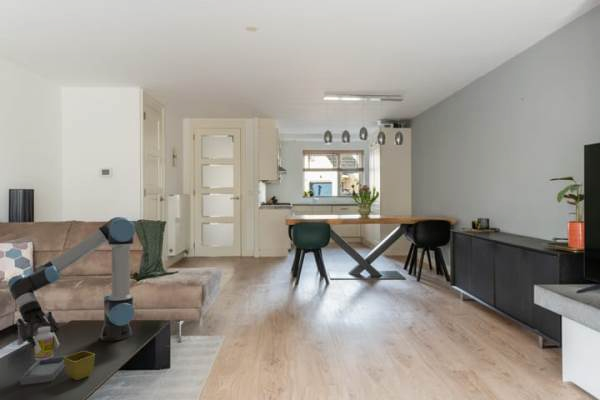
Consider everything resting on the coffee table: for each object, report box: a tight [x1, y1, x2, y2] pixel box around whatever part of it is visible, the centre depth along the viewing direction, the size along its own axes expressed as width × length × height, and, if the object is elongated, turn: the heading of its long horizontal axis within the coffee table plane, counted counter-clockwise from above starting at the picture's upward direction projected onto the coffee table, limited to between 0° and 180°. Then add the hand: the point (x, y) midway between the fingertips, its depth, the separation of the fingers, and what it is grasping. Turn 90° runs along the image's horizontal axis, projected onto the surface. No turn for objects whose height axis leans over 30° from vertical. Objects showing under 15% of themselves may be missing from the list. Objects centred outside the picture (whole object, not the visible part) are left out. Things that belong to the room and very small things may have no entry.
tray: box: [19, 355, 68, 386], centre depth 169 cm, size 12×20×3 cm, turn 15°
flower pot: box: [64, 350, 96, 381], centre depth 164 cm, size 9×9×9 cm
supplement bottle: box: [34, 326, 54, 361], centre depth 168 cm, size 7×7×13 cm
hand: (48, 349), depth 167 cm, fingers closed on supplement bottle, 7 cm apart
